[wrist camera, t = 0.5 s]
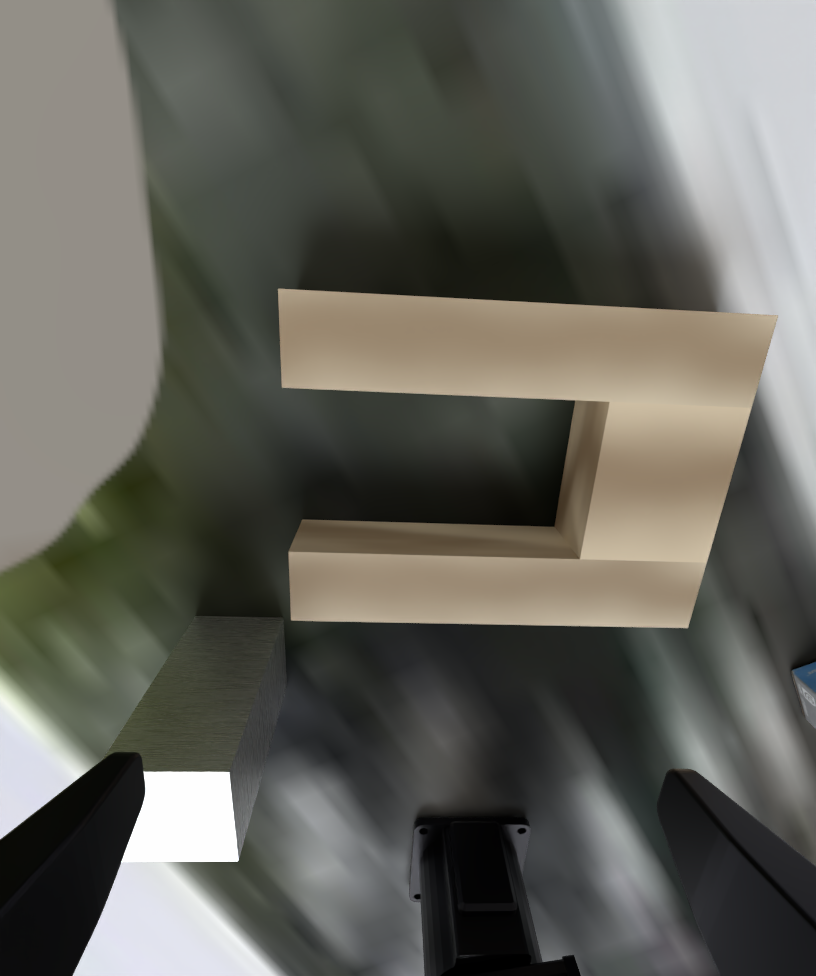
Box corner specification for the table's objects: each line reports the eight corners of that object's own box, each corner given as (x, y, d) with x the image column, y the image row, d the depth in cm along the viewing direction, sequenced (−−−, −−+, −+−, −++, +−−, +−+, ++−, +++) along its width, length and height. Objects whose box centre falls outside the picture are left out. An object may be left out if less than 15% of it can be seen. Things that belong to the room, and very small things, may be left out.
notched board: (650, 588, 22) (687, 628, 19) (304, 580, 21) (291, 620, 19) (718, 315, 18) (778, 315, 15) (296, 293, 17) (277, 288, 15)
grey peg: (286, 686, 24) (238, 860, 16) (203, 685, 23) (114, 861, 16) (283, 617, 22) (229, 772, 15) (195, 615, 22) (94, 771, 14)
